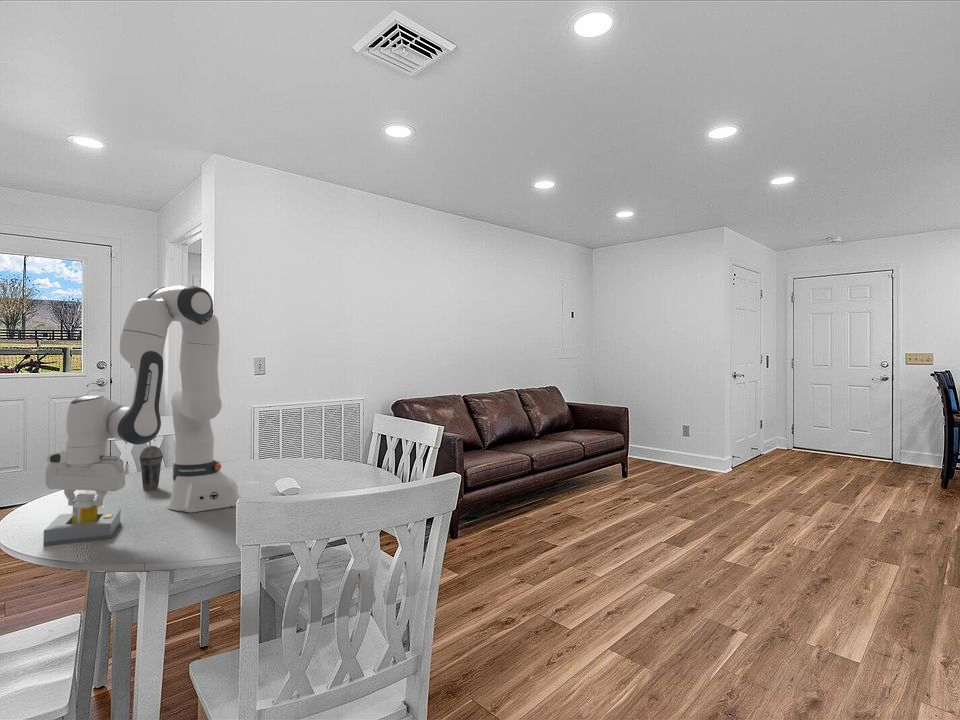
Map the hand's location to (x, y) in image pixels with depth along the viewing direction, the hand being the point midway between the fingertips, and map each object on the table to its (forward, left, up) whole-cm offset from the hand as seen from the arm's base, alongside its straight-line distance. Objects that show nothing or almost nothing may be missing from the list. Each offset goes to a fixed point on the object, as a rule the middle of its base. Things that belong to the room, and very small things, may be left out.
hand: (85, 505), depth 138 cm
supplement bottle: (0, 0, -7) cm, 7 cm away
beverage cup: (-10, -47, -8) cm, 49 cm away
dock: (0, 0, -8) cm, 8 cm away
